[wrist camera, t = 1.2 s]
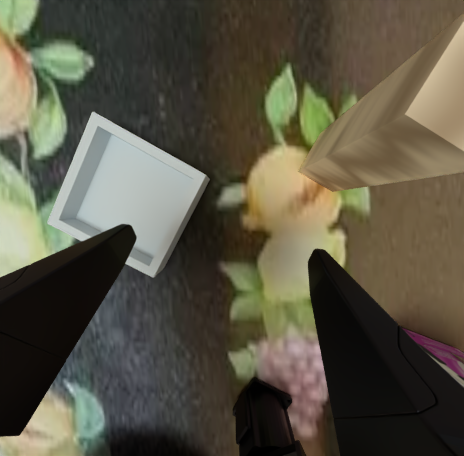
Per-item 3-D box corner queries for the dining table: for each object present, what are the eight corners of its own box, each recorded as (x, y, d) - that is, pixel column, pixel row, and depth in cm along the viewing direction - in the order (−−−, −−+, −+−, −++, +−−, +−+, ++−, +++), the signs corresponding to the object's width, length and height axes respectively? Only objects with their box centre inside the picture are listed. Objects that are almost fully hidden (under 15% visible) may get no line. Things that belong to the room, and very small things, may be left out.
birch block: (355, 154, 20) (565, 65, 8) (332, 191, 21) (491, 168, 8) (320, 133, 20) (474, 3, 7) (298, 171, 21) (404, 114, 8)
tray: (209, 179, 21) (206, 174, 18) (164, 268, 22) (153, 277, 19) (113, 125, 20) (92, 111, 17) (72, 220, 22) (46, 223, 19)
